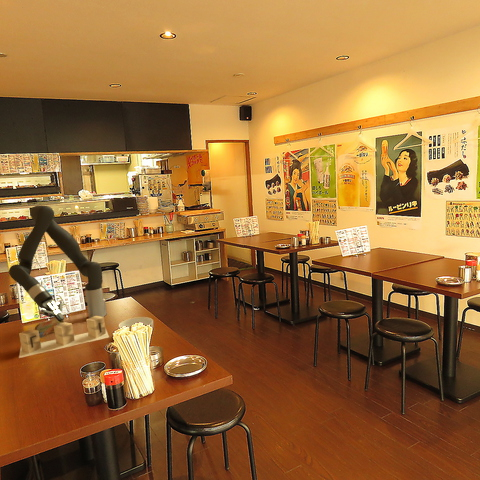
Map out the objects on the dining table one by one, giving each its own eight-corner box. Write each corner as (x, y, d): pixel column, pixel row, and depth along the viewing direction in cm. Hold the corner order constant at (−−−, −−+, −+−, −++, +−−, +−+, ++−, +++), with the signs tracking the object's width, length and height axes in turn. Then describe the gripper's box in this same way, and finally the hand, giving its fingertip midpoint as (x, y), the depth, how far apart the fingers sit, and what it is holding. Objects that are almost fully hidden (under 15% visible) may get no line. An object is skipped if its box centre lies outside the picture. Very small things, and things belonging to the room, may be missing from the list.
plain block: (67, 338, 199) (64, 321, 197) (74, 340, 195) (72, 323, 194) (56, 343, 194) (53, 326, 192) (63, 345, 190) (61, 327, 189)
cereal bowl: (119, 345, 189) (117, 331, 187) (120, 332, 204) (118, 320, 203) (155, 339, 193) (153, 325, 192) (153, 327, 209) (152, 314, 208)
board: (105, 330, 209) (105, 328, 209) (109, 339, 197) (109, 337, 197) (21, 349, 192) (20, 347, 192) (19, 360, 180) (18, 357, 180)
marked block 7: (34, 346, 192) (31, 328, 191) (41, 348, 189) (38, 330, 187) (22, 351, 187) (19, 333, 186) (29, 353, 184) (26, 335, 182)
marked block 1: (98, 332, 205) (96, 315, 204) (106, 333, 202) (104, 317, 200) (88, 336, 200) (86, 319, 199) (96, 338, 197) (94, 321, 195)
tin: (37, 341, 201) (35, 325, 200) (34, 340, 203) (32, 324, 202) (65, 331, 213) (63, 316, 212) (62, 330, 215) (60, 315, 214)
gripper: (31, 294, 188) (54, 320, 185) (53, 286, 200) (75, 310, 197) (25, 304, 191) (48, 330, 188) (47, 296, 203) (69, 320, 200)
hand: (62, 320), depth 193 cm, fingers closed
